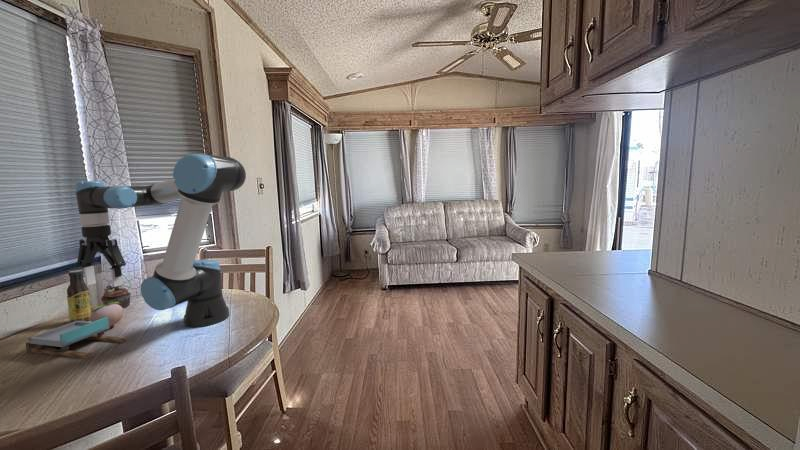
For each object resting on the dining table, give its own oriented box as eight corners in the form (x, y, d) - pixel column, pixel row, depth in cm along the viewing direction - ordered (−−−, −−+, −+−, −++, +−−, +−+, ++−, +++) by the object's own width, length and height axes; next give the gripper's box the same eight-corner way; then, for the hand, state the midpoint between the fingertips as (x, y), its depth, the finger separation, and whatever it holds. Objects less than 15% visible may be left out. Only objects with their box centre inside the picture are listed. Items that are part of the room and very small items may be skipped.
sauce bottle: (78, 325, 123) (70, 273, 121) (65, 324, 125) (57, 273, 122) (97, 318, 130) (90, 269, 127) (85, 317, 131) (77, 268, 128)
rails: (126, 340, 110) (125, 331, 110) (86, 359, 98) (84, 349, 98) (71, 334, 115) (70, 326, 115) (26, 352, 104) (25, 343, 103)
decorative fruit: (106, 334, 115) (102, 306, 114) (87, 332, 116) (83, 305, 115) (132, 323, 124) (128, 297, 123) (114, 321, 126) (110, 296, 124)
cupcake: (136, 305, 143) (134, 283, 142) (109, 313, 134) (106, 289, 133) (125, 302, 147) (122, 280, 146) (97, 309, 139) (94, 287, 137)
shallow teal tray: (110, 334, 112) (107, 317, 111) (64, 353, 99) (61, 334, 99) (78, 331, 115) (76, 314, 114) (30, 349, 102) (27, 331, 102)
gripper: (133, 224, 117) (141, 283, 119) (81, 223, 122) (90, 280, 124) (111, 226, 109) (119, 289, 112) (57, 226, 114) (66, 286, 117)
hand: (104, 285), depth 118 cm, fingers open, 11 cm apart
